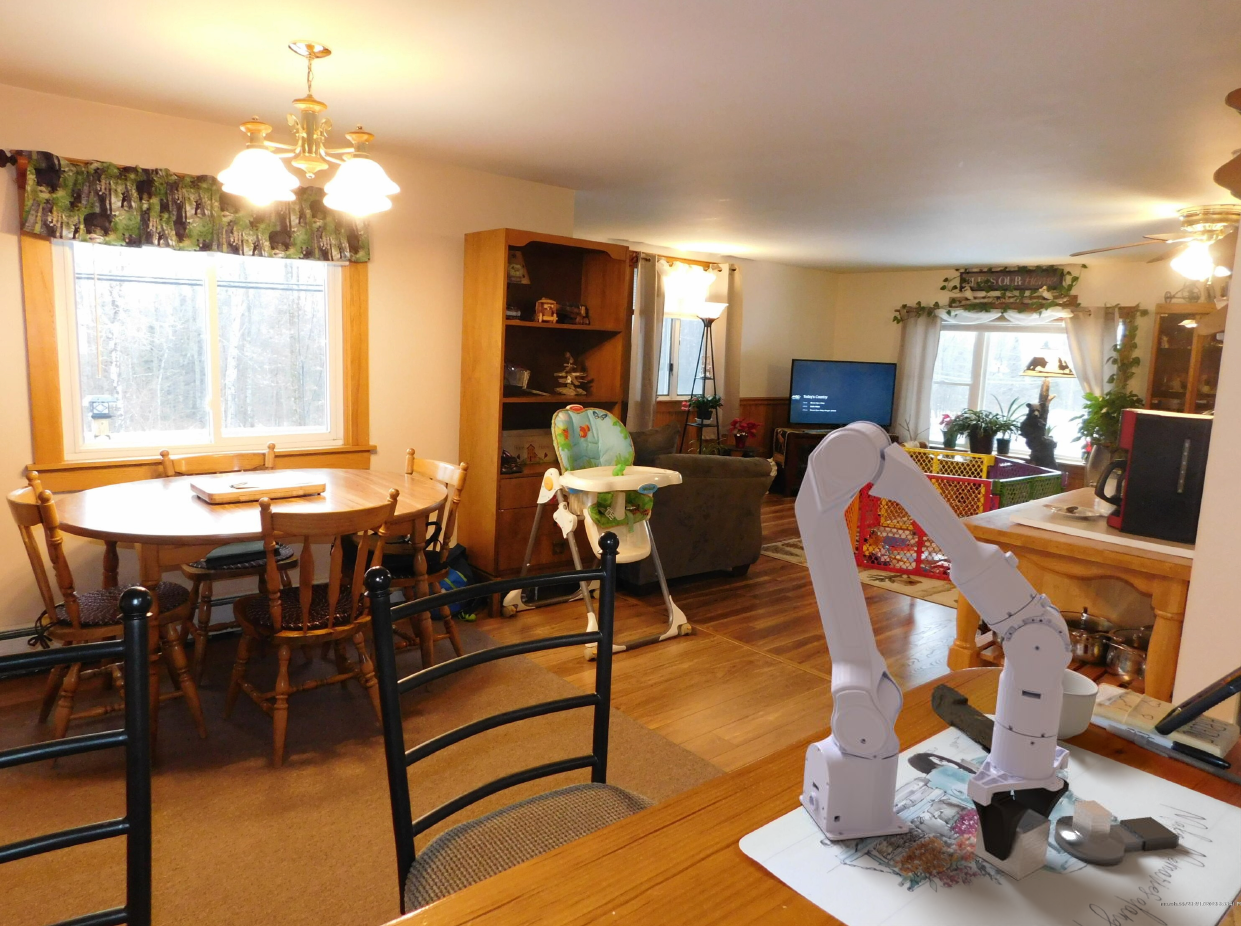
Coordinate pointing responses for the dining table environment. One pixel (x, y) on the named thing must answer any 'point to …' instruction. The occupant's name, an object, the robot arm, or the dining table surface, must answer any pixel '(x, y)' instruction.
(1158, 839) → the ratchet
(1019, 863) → the socket
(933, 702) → the brown wooden log
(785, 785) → the dining table surface
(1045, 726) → the robot arm
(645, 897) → the dining table surface
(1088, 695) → the teacup
